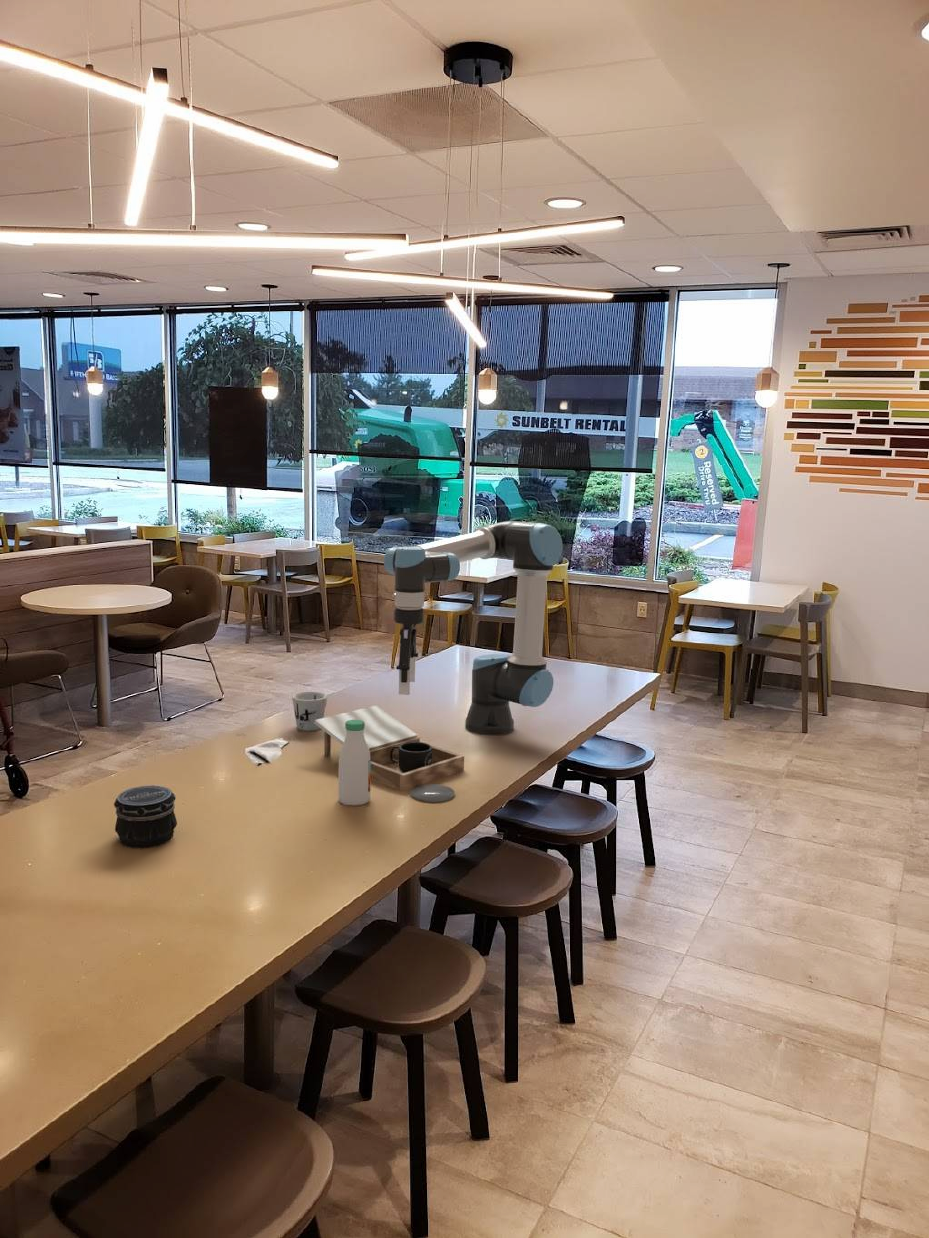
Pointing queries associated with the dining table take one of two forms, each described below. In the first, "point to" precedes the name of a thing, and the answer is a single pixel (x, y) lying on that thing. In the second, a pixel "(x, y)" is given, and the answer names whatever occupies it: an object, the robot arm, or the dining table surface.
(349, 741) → the milk bottle
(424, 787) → the coaster
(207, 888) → the dining table surface
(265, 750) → the cloth
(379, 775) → the box
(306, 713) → the mug
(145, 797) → the container
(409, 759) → the mug
